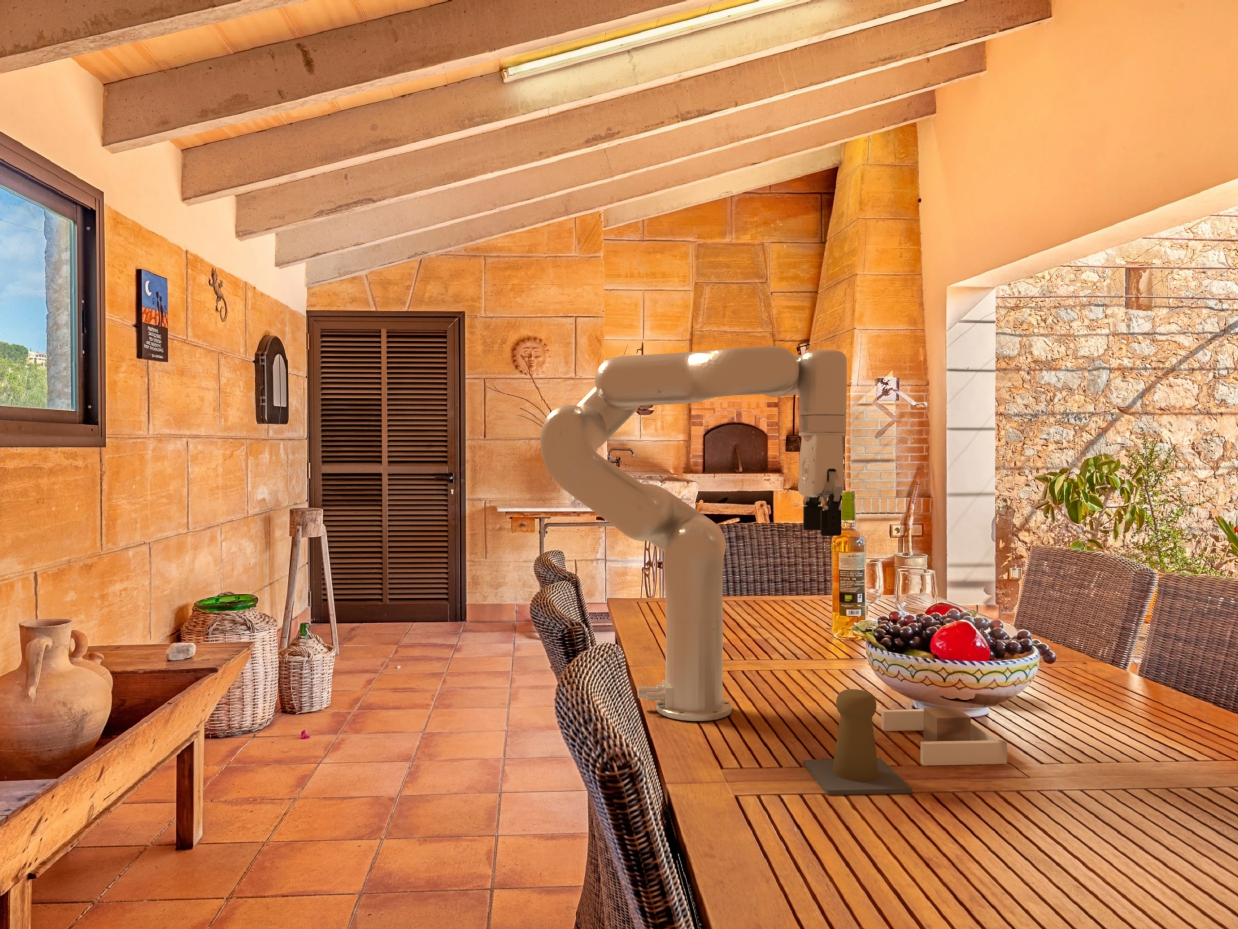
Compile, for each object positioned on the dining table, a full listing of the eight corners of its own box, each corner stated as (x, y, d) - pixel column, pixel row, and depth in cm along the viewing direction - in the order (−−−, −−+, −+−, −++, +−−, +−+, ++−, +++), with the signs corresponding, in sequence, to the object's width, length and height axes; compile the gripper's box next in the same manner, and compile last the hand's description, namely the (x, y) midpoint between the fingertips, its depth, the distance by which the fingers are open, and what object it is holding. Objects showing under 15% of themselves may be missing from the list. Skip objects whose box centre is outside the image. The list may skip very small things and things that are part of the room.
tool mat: (827, 795, 112) (827, 790, 112) (803, 764, 123) (803, 759, 123) (912, 793, 113) (912, 788, 113) (880, 762, 124) (880, 758, 124)
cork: (881, 783, 114) (882, 698, 114) (833, 779, 116) (834, 696, 115) (876, 766, 120) (877, 686, 120) (831, 763, 121) (832, 684, 121)
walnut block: (936, 752, 128) (937, 717, 128) (923, 740, 133) (923, 707, 133) (970, 751, 129) (970, 717, 128) (955, 740, 134) (956, 707, 133)
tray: (923, 765, 122) (923, 744, 122) (881, 729, 138) (881, 709, 138) (1006, 763, 123) (1007, 742, 123) (955, 727, 139) (955, 708, 139)
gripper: (786, 428, 151) (785, 527, 152) (815, 425, 134) (814, 538, 134) (828, 428, 152) (828, 527, 152) (863, 426, 135) (862, 538, 135)
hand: (821, 532), depth 143 cm, fingers open, 9 cm apart
